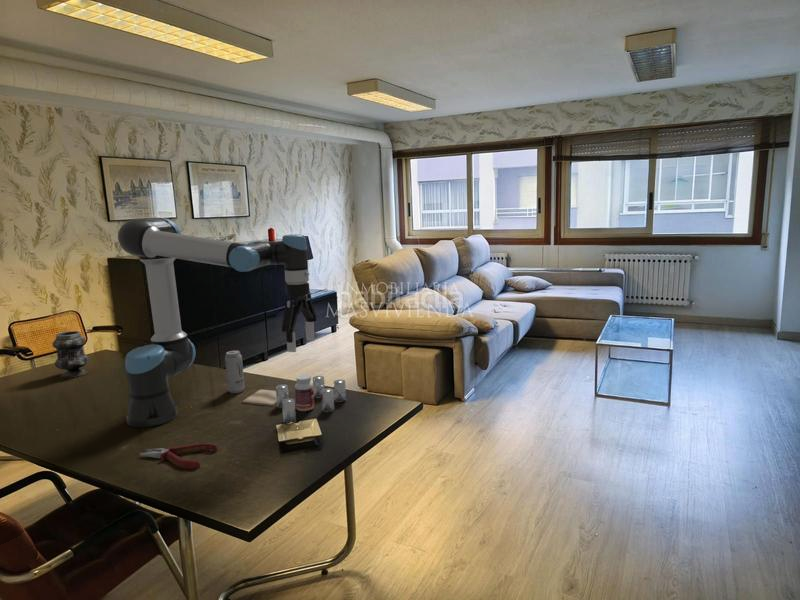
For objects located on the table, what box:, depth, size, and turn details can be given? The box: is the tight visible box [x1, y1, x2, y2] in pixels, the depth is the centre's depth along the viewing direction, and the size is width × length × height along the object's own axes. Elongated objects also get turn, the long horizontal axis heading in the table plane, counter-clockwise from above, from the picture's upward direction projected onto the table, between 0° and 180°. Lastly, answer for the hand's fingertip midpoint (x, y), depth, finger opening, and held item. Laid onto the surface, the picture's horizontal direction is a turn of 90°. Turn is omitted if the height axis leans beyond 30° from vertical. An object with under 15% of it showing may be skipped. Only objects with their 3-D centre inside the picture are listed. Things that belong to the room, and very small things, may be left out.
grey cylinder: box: [333, 379, 347, 402], centre depth 181 cm, size 4×4×7 cm
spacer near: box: [281, 397, 297, 424], centre depth 165 cm, size 4×4×7 cm
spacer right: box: [321, 387, 335, 411], centre depth 172 cm, size 4×4×7 cm
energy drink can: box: [224, 349, 245, 394], centre depth 192 cm, size 6×6×15 cm
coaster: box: [241, 389, 290, 407], centre depth 185 cm, size 12×12×1 cm
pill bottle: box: [294, 374, 315, 412], centre depth 174 cm, size 6×6×11 cm
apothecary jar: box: [51, 330, 90, 379], centre depth 216 cm, size 12×12×18 cm
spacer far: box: [312, 375, 326, 397], centre depth 185 cm, size 4×4×7 cm
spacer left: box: [275, 384, 289, 409], centre depth 177 cm, size 4×4×7 cm
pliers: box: [139, 442, 219, 470], centre depth 144 cm, size 12×20×3 cm, turn 80°
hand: (301, 345), depth 172 cm, fingers open, 13 cm apart
